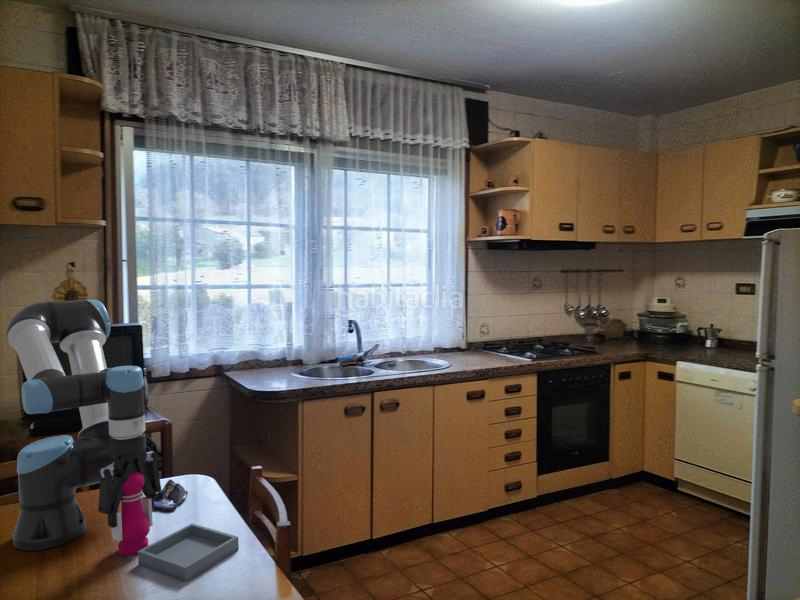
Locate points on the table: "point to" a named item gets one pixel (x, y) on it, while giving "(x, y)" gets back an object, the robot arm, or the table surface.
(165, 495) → the snack package
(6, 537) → the table surface
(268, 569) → the table surface
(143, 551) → the tray
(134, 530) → the pepper mill
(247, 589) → the table surface
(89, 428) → the robot arm
